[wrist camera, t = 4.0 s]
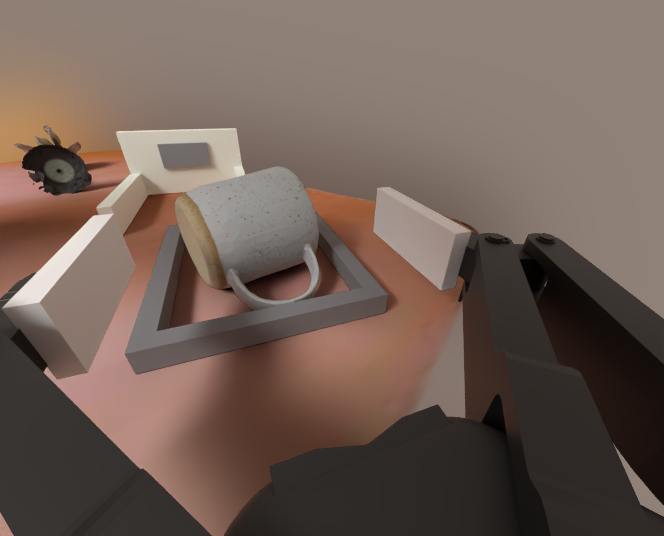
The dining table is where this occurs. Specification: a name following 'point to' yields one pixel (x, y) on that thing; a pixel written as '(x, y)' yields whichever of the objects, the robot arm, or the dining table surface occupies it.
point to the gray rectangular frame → (250, 327)
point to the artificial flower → (55, 165)
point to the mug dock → (170, 166)
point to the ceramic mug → (250, 231)
